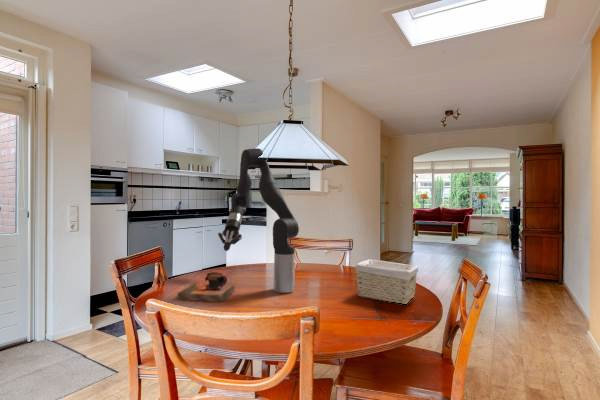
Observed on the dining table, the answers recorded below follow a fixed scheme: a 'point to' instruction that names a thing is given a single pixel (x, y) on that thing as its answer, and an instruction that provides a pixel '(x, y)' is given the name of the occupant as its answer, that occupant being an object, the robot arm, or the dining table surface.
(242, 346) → the dining table surface
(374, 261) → the storage basket
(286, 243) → the robot arm
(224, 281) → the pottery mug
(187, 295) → the wooden corral
